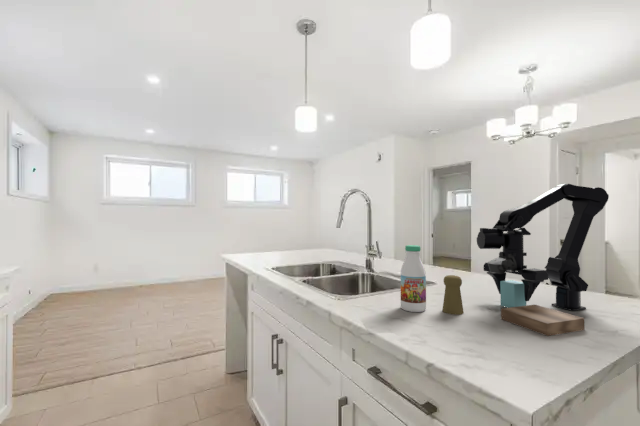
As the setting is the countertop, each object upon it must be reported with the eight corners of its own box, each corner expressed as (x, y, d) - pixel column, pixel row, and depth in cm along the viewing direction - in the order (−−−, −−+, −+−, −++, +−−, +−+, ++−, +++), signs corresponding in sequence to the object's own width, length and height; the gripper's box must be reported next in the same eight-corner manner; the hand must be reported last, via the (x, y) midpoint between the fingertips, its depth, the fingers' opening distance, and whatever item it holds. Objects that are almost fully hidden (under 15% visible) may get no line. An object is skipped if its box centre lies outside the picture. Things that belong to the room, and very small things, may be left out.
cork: (466, 315, 90) (465, 277, 91) (444, 314, 92) (444, 277, 92) (460, 309, 96) (460, 274, 96) (440, 308, 98) (440, 273, 98)
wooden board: (535, 314, 91) (535, 304, 91) (584, 330, 78) (584, 318, 78) (501, 319, 87) (501, 308, 87) (547, 336, 74) (547, 323, 75)
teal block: (512, 304, 102) (512, 280, 102) (526, 308, 97) (526, 283, 97) (500, 305, 100) (500, 281, 100) (514, 310, 96) (514, 284, 96)
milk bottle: (397, 305, 100) (396, 244, 100) (420, 305, 101) (419, 244, 101) (405, 313, 92) (405, 246, 93) (430, 312, 93) (430, 246, 93)
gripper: (470, 247, 105) (471, 292, 105) (520, 253, 88) (521, 307, 87) (495, 246, 109) (496, 290, 109) (549, 251, 91) (549, 304, 91)
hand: (513, 297), depth 99 cm, fingers open, 9 cm apart
